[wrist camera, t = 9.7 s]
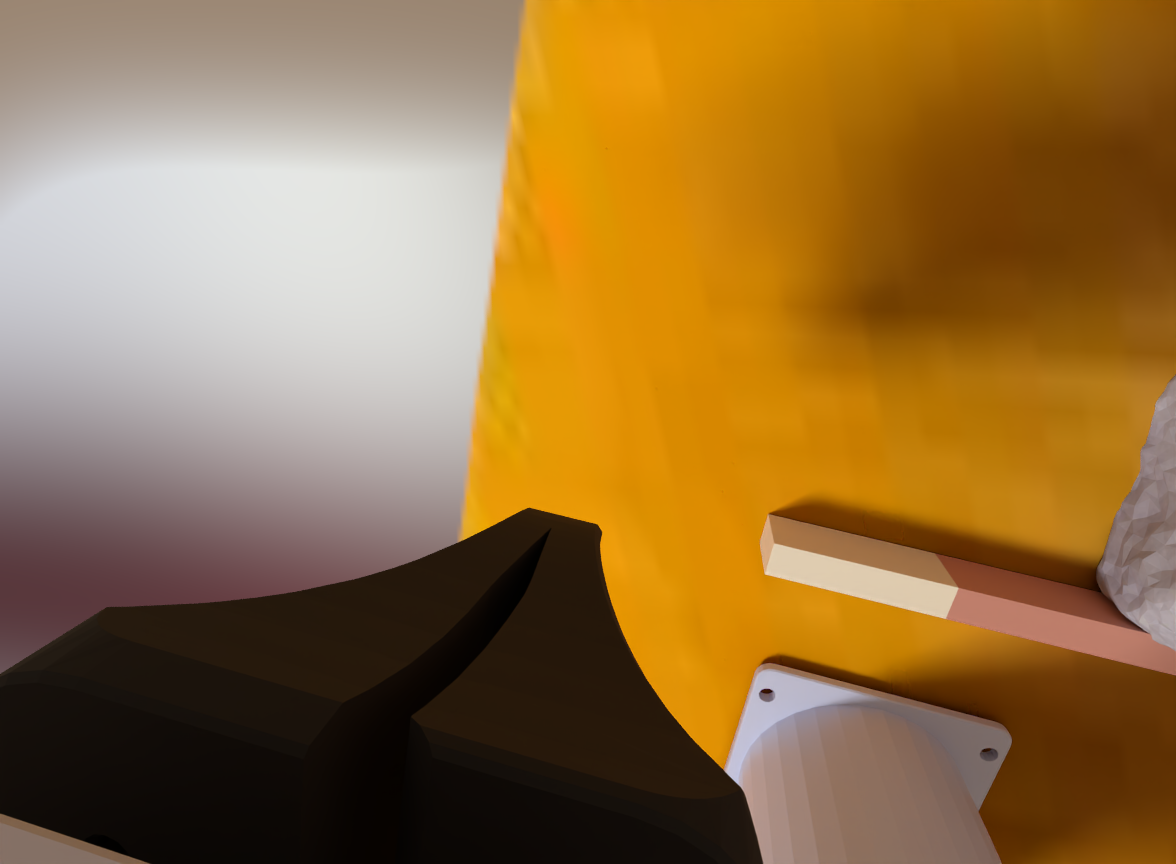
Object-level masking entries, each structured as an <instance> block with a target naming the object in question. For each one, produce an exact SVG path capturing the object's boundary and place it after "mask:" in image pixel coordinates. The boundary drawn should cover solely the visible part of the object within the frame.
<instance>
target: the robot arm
mask: <svg viewBox="0 0 1176 864" xmlns="http://www.w3.org/2000/svg"><path fill="white" fill-rule="evenodd" d="M601 536H602V531H601V529H600V528H599V526H598V525H597V524H593V523H589V522H585V521H581V520H577V519H573V518H569V517H565V516H561V515H557V514H553V513H549V512H544V511H540V510H536V509H532V508H527V509H525V510H522V511H520V512H518V513H516V514H514V515H513V516H511V517H509V518H507V519H505V520H503V521H501V522H499V523H497V524H495V525H493V526H491V527H489V528H487V529H485V530H483V531H481V532H479V533H477V534H475V535H473V536H471V537H469V538H467V539H465V540H463V541H461V542H458V543H456V544H454V545H451V546H449V547H447V548H444V549H442V550H439V551H437V552H435V553H432V554H430V555H428V556H425V557H423V558H420V559H418V560H415V561H412V562H410V563H407V564H404V565H401V566H398V567H395V568H392V569H389V570H385V571H382V572H379V573H375V574H372V575H369V576H365V577H361V578H358V579H354V580H349V581H345V582H340V583H336V584H331V585H326V586H321V587H316V588H312V589H308V590H302V591H297V592H292V593H286V594H279V595H272V596H265V597H258V598H249V599H240V600H231V601H222V602H210V603H198V604H177V605H157V606H135V607H107V608H105V609H103V610H101V611H100V612H99V613H97V614H95V615H94V616H92V617H90V618H89V619H87V620H86V621H84V622H82V623H81V624H79V625H78V626H76V627H74V628H73V629H71V630H70V631H68V632H66V633H65V634H63V635H62V636H60V637H58V638H57V639H55V640H54V641H52V642H51V643H49V644H47V645H46V646H44V647H43V648H41V649H40V650H38V651H36V652H35V653H33V654H31V655H30V656H28V657H26V658H25V659H23V660H22V661H20V662H19V663H17V664H15V665H14V666H13V667H11V668H9V669H7V670H6V671H4V672H3V673H1V674H0V864H1002V862H1001V860H1000V858H999V856H998V853H997V851H996V849H995V847H994V845H993V842H992V840H991V838H990V836H989V834H988V832H987V829H986V827H985V825H984V823H983V821H982V818H981V816H980V814H979V812H978V811H979V809H980V807H981V805H982V803H983V801H984V799H985V797H986V795H987V793H988V791H989V789H990V787H991V785H992V783H993V781H994V779H995V777H996V775H997V773H998V771H999V769H1000V767H1001V765H1002V763H1003V761H1004V759H1005V757H1006V755H1007V753H1008V751H1009V749H1010V747H1011V744H1012V738H1011V735H1010V734H1009V732H1008V730H1007V729H1006V728H1005V727H1004V726H1003V725H1002V724H1000V723H998V722H995V721H991V720H987V719H984V718H980V717H976V716H972V715H968V714H965V713H961V712H957V711H953V710H949V709H945V708H942V707H938V706H934V705H930V704H926V703H923V702H919V701H915V700H911V699H907V698H904V697H900V696H896V695H892V694H888V693H884V692H881V691H877V690H873V689H869V688H865V687H862V686H858V685H854V684H850V683H846V682H842V681H839V680H835V679H831V678H827V677H823V676H820V675H816V674H812V673H808V672H804V671H801V670H797V669H793V668H789V667H785V666H781V665H778V664H773V663H766V664H762V665H761V666H759V667H758V668H757V670H756V671H755V674H754V677H753V680H752V683H751V686H750V690H749V693H748V696H747V699H746V702H745V705H744V708H743V712H742V715H741V718H740V721H739V724H738V727H737V730H736V734H735V737H734V740H733V743H732V746H731V749H730V752H729V756H728V759H727V762H726V765H725V768H724V770H723V769H722V768H721V767H720V766H719V765H718V764H717V763H716V762H715V761H714V760H713V759H712V758H711V757H710V756H709V755H708V754H707V753H706V752H705V751H704V750H703V749H702V748H701V747H700V746H699V745H697V744H696V743H695V741H694V740H693V739H692V738H691V737H690V736H689V735H688V734H687V732H686V731H685V730H684V729H683V728H682V726H681V725H680V724H679V723H678V722H677V720H676V719H675V718H674V717H673V716H672V714H671V713H670V712H669V711H668V710H667V708H666V707H665V705H664V704H663V702H662V701H661V700H660V698H659V697H658V695H657V694H656V692H655V691H654V689H653V688H652V686H651V685H650V684H649V682H648V681H647V679H646V677H645V676H644V674H643V672H642V670H641V669H640V667H639V665H638V663H637V661H636V660H635V658H634V656H633V654H632V652H631V650H630V648H629V646H628V644H627V642H626V640H625V637H624V635H623V633H622V630H621V628H620V625H619V623H618V620H617V618H616V615H615V612H614V609H613V606H612V603H611V600H610V597H609V593H608V590H607V586H606V581H605V577H604V573H603V568H602V562H601V554H600V541H601ZM765 688H767V689H771V690H773V692H771V693H769V694H764V693H762V692H760V691H761V690H762V689H765ZM985 748H992V749H991V750H990V751H987V752H981V751H982V750H983V749H985Z"/></svg>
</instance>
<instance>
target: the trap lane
mask: <svg viewBox="0 0 1176 864" xmlns="http://www.w3.org/2000/svg"><path fill="white" fill-rule="evenodd" d="M760 547H761V553H762V559H763V566H764V572H765V574H766V575H770V576H774V577H778V578H783V579H787V580H791V581H795V582H799V583H803V584H807V585H811V586H815V587H819V588H823V589H827V590H831V591H835V592H839V593H843V594H847V595H851V596H855V597H860V598H864V599H868V600H872V601H876V602H880V603H884V604H888V605H892V606H896V607H900V608H904V609H908V610H912V611H916V612H920V613H924V614H928V615H932V616H936V617H941V618H945V619H949V620H953V621H957V622H961V623H965V624H969V625H973V626H977V627H981V628H985V629H989V630H993V631H997V632H1001V633H1005V634H1009V635H1013V636H1018V637H1022V638H1026V639H1030V640H1034V641H1038V642H1042V643H1046V644H1050V645H1054V646H1058V647H1062V648H1066V649H1070V650H1074V651H1078V652H1082V653H1086V654H1090V655H1094V656H1099V657H1103V658H1107V659H1111V660H1115V661H1119V662H1123V663H1127V664H1131V665H1135V666H1139V667H1143V668H1147V669H1151V670H1155V671H1159V672H1163V673H1167V674H1171V675H1176V651H1175V650H1173V649H1172V648H1170V647H1168V646H1165V645H1162V644H1159V643H1158V642H1156V641H1154V640H1153V639H1152V636H1151V634H1149V633H1148V632H1146V631H1145V630H1143V629H1142V628H1140V627H1139V626H1138V625H1136V624H1135V623H1133V622H1132V621H1130V620H1129V619H1128V618H1126V617H1125V616H1124V615H1123V614H1122V613H1121V612H1120V611H1119V609H1118V608H1117V606H1116V605H1115V604H1114V603H1113V602H1112V601H1111V600H1109V599H1108V598H1107V597H1106V596H1105V595H1104V594H1103V593H1101V592H1097V591H1092V590H1088V589H1084V588H1080V587H1075V586H1071V585H1067V584H1063V583H1058V582H1054V581H1050V580H1046V579H1041V578H1037V577H1033V576H1029V575H1025V574H1020V573H1016V572H1012V571H1008V570H1003V569H999V568H995V567H991V566H986V565H982V564H978V563H974V562H969V561H965V560H961V559H957V558H953V557H948V556H944V555H940V554H936V553H931V552H927V551H923V550H919V549H914V548H910V547H906V546H902V545H897V544H893V543H889V542H885V541H881V540H876V539H872V538H868V537H864V536H859V535H855V534H851V533H847V532H842V531H838V530H834V529H830V528H825V527H821V526H817V525H813V524H809V523H804V522H800V521H796V520H792V519H787V518H783V517H779V516H775V515H770V514H768V517H767V520H766V523H765V527H764V530H763V533H762V537H761V540H760Z"/></svg>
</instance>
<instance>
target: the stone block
mask: <svg viewBox="0 0 1176 864" xmlns="http://www.w3.org/2000/svg"><path fill="white" fill-rule="evenodd" d="M1096 580H1097V582H1098V585H1099V587H1100V589H1101V591H1102V593H1103V594H1104V595H1105V596H1106V597H1107V598H1108V599H1109V600H1111V601H1112V602H1113V603H1114V604H1115V605H1116V606H1117V608H1118V609H1119V611H1120V612H1121V613H1122V614H1123V615H1124V616H1125V617H1126V618H1128V619H1129V620H1130V621H1132V622H1133V623H1135V624H1136V625H1138V626H1139V627H1140V628H1142V629H1143V630H1145V631H1146V632H1148V633H1149V634H1151V636H1152V639H1153V640H1154V641H1156V642H1158V643H1159V644H1162V645H1165V646H1168V647H1170V648H1172V649H1173V650H1175V651H1176V375H1175V376H1174V377H1173V378H1172V379H1171V380H1170V382H1169V383H1168V385H1167V387H1166V389H1165V391H1164V392H1163V393H1162V395H1161V396H1160V397H1159V399H1158V400H1157V402H1156V405H1155V413H1154V416H1153V419H1152V423H1151V427H1150V432H1149V435H1148V437H1147V442H1146V444H1145V445H1144V446H1143V447H1142V449H1141V470H1140V473H1139V475H1138V477H1137V479H1136V481H1135V483H1134V485H1133V487H1132V490H1131V492H1130V493H1129V494H1128V496H1127V497H1126V498H1125V500H1124V501H1123V502H1122V506H1121V508H1120V509H1119V511H1118V512H1117V513H1116V516H1115V518H1114V522H1113V526H1112V529H1111V532H1110V536H1109V539H1108V542H1107V545H1106V548H1105V552H1104V555H1103V558H1102V560H1101V562H1100V563H1099V565H1098V567H1097V570H1096Z"/></svg>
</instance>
